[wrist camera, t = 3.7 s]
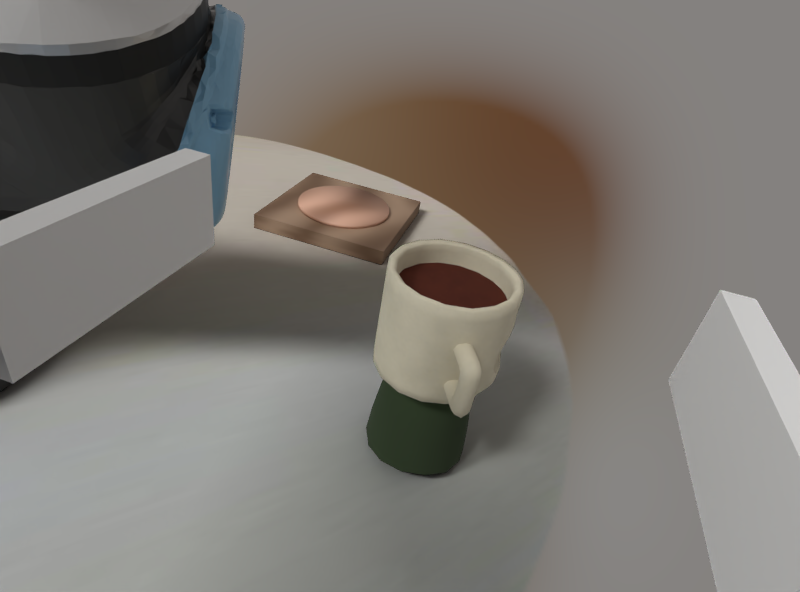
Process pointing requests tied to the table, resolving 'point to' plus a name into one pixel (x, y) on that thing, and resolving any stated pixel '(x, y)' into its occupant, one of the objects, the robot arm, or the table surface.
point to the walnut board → (340, 217)
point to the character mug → (437, 349)
